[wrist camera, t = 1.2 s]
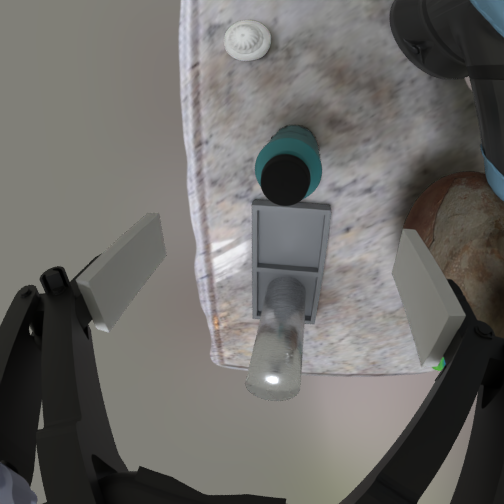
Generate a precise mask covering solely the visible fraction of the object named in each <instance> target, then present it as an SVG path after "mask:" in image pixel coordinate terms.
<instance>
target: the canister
mask: <svg viewBox="0 0 504 504" xmlns="http://www.w3.org/2000/svg"><path fill="white" fill-rule="evenodd" d="M305 300H306V290H305V287H304V286H303V284H302V283H301V282H300V281H298V280H297V279H294V278H291V277H279V278H276V279H274V280H273V281H271V282H270V283H269V285H268V287H267V290H266V295H265V299H264V304H263V308H262V313H261V317H260V322H259V326H258V331H257V335H256V340H255V344H254V348H253V353H252V357H251V361H250V366H249V370H248V375H247V378H246V384H245V385H246V388H247V390H248V391H249V392H250V393H252V394H253V395H255V396H257V397H259V398H261V399H265V400H271V401H283V400H288V399H291V398H293V397H295V396H296V395H297V394H298V393H299V391H300V382H301V369H302V355H303V340H304V322H305Z"/></svg>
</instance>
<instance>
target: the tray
mask: <svg viewBox="0 0 504 504" xmlns="http://www.w3.org/2000/svg"><path fill="white" fill-rule="evenodd" d="M330 217H331V207H330V205H325V204H314V203H301V202H298V203H296V204H294V205H290V206H280V205H277V204H274V203H273V202H271V201H270V200H254V201H253V203H252V307H253V319H260V317H261V313H262V308H263V304H264V299H265V295H266V290H267V287H268V285H269V283H270V282H271V281H273V280H274V279H276V278H279V277H291V278H294V279H297V280H298V281H300V282H301V283H302V284H303V286H304V287H305V290H306V300H305V322H304V324H315V318H316V313H317V307H318V301H319V295H320V289H321V283H322V277H323V270H324V263H325V256H326V249H327V242H328V234H329V226H330Z"/></svg>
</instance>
